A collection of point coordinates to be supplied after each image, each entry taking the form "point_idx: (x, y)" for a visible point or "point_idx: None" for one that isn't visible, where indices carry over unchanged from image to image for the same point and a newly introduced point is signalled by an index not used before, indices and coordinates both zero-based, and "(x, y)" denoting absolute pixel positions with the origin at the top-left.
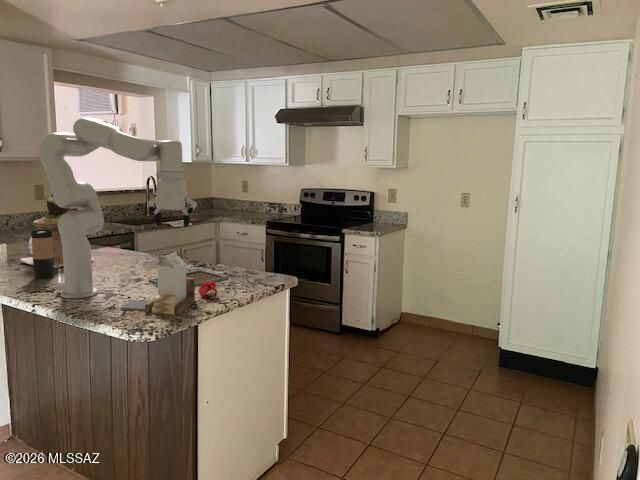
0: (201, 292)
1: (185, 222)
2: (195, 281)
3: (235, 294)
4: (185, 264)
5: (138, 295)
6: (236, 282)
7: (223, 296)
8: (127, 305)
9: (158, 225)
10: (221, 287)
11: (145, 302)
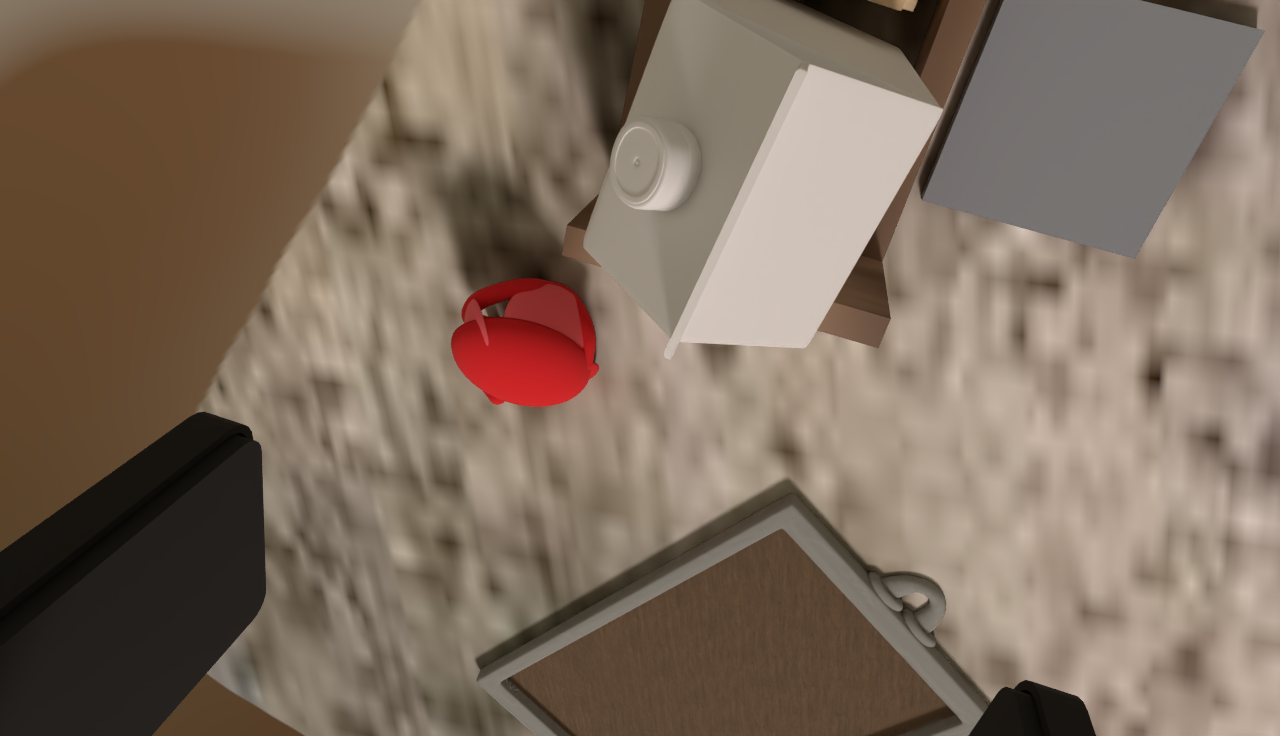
0: (572, 308)
1: (111, 484)
2: (672, 656)
3: (373, 344)
4: (586, 234)
5: (1074, 417)
6: (419, 591)
7: (441, 309)
8: (1190, 94)
9: (1019, 703)
10: (490, 509)
11: (1018, 175)
